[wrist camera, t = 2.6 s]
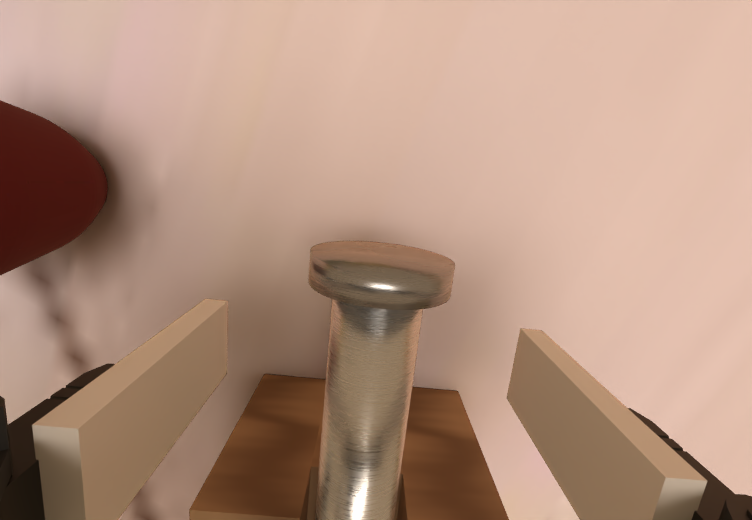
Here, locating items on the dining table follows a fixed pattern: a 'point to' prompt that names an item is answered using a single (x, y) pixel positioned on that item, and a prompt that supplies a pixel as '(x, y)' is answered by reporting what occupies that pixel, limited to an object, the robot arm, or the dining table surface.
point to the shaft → (370, 367)
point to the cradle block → (302, 452)
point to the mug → (43, 187)
